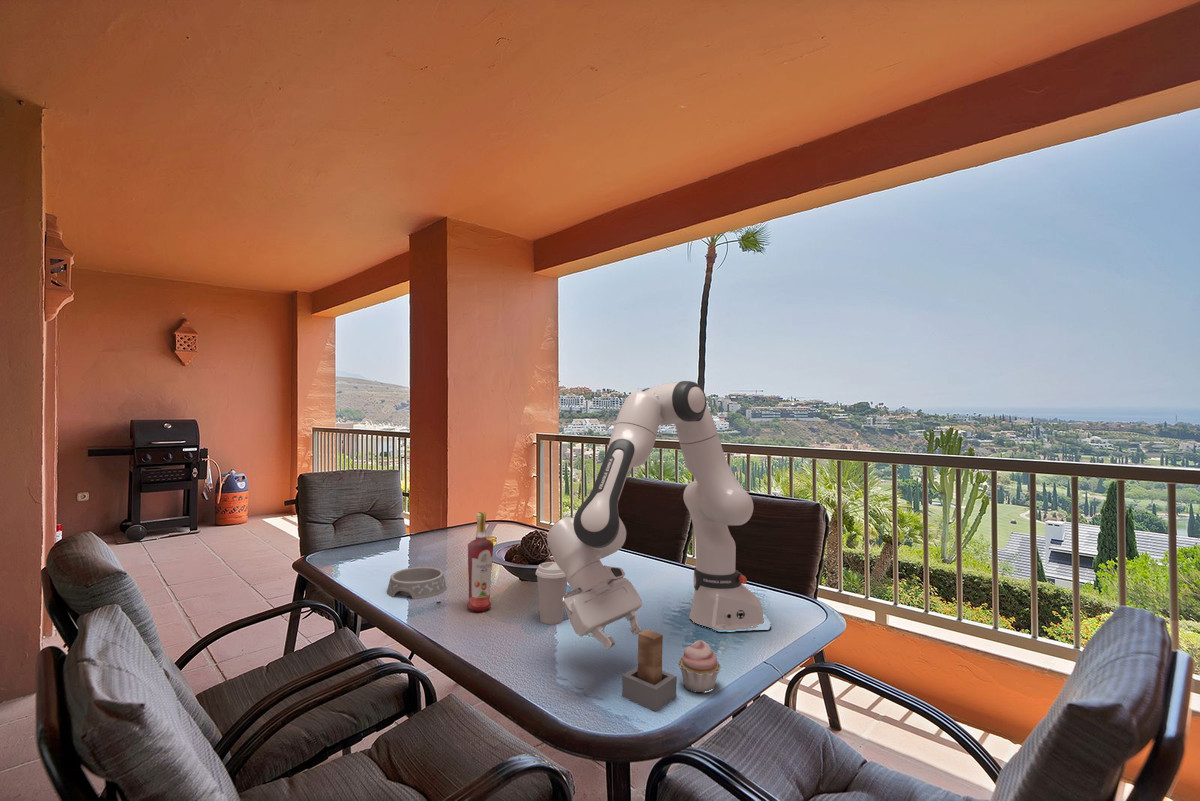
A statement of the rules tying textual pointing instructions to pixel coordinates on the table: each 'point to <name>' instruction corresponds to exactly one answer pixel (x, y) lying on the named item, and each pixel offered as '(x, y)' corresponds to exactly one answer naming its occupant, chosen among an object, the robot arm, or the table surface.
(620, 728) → the table surface
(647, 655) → the brown wooden block
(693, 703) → the table surface
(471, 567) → the liquor
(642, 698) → the end cap
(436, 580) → the dog bowl
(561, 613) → the coffee cup
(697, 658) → the cupcake
